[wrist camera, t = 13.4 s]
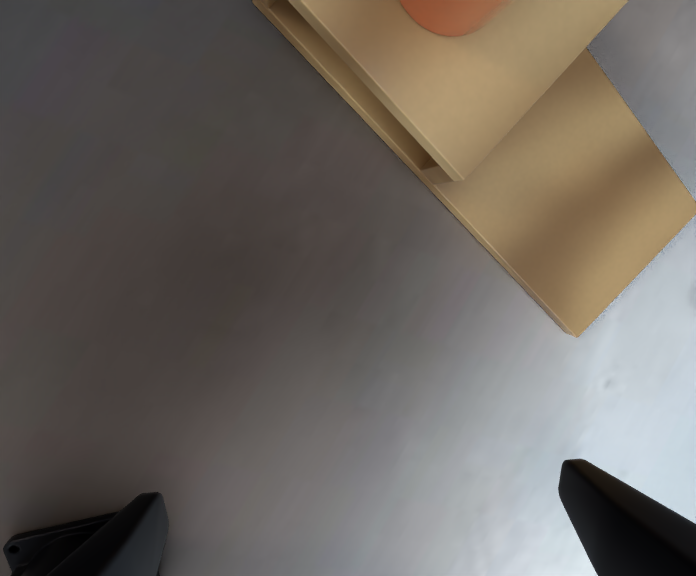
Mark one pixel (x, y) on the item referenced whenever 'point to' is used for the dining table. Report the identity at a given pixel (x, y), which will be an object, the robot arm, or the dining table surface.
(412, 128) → the stand
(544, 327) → the dining table surface
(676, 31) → the dining table surface
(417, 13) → the pepper mill
